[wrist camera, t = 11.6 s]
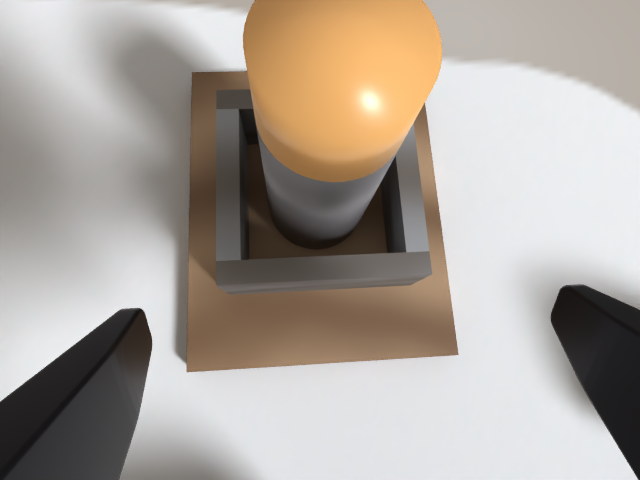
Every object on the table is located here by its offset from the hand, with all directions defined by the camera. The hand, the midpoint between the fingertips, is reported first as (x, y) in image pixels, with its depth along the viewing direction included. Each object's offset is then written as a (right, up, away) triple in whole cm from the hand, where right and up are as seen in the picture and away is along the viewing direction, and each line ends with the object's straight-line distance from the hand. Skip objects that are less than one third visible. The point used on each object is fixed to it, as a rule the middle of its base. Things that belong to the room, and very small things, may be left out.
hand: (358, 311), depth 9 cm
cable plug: (-1, +3, +13) cm, 13 cm away
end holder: (-1, +3, +14) cm, 14 cm away
